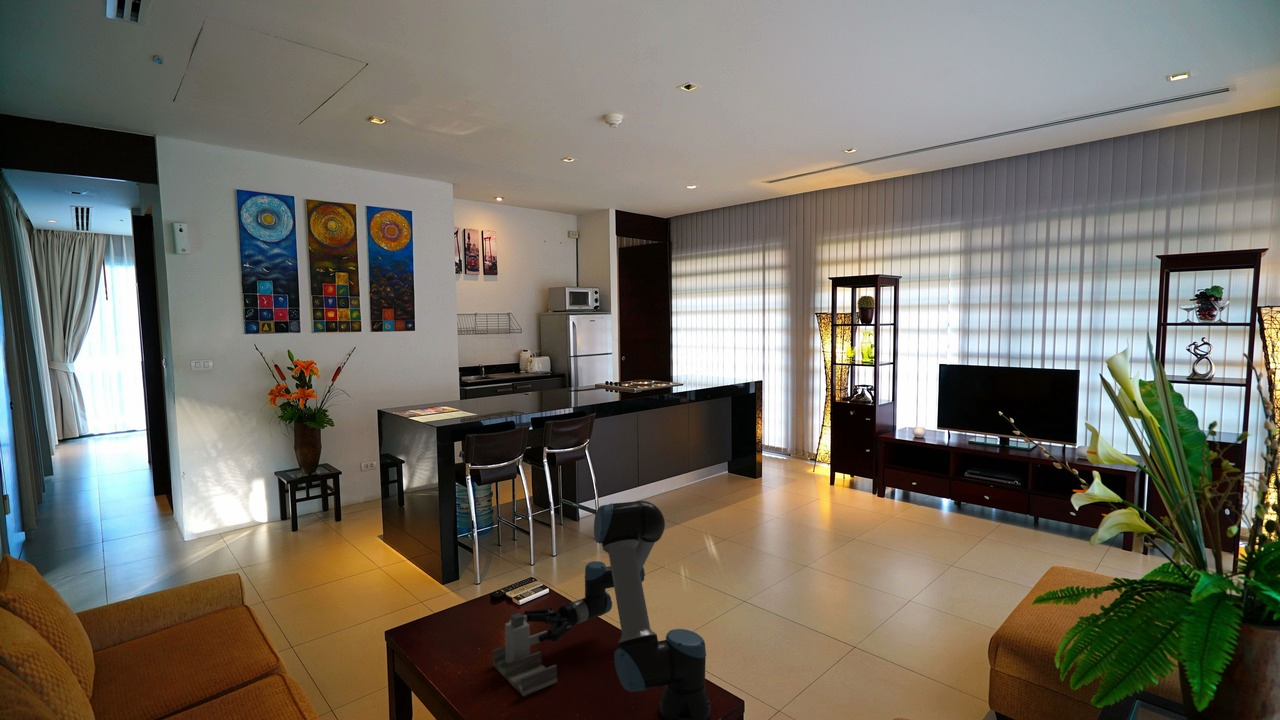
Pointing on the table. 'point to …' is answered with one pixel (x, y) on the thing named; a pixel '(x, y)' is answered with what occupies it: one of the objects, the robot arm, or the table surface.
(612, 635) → the table surface
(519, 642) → the grey square bottle
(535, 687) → the slot rack
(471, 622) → the table surface
